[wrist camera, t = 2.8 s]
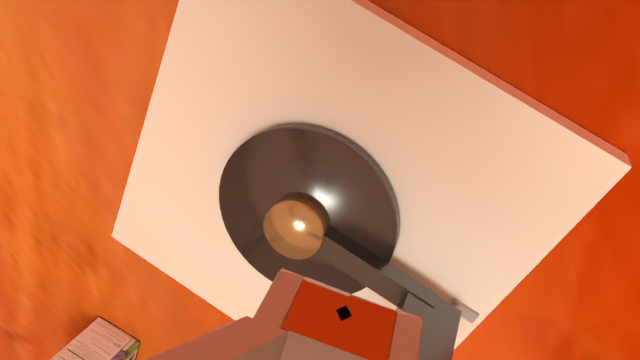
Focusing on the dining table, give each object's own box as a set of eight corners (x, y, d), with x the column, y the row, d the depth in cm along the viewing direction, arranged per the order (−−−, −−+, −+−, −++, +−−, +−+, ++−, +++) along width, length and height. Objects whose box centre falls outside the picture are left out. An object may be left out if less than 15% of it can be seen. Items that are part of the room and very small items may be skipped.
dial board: (125, 226, 51) (109, 238, 49) (220, -87, 35) (201, -88, 33) (389, 403, 48) (383, 423, 46) (627, 154, 32) (632, 169, 30)
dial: (205, 225, 44) (91, 327, 33) (263, 85, 36) (142, 158, 25) (409, 360, 42) (362, 516, 31) (516, 243, 35) (503, 395, 24)
